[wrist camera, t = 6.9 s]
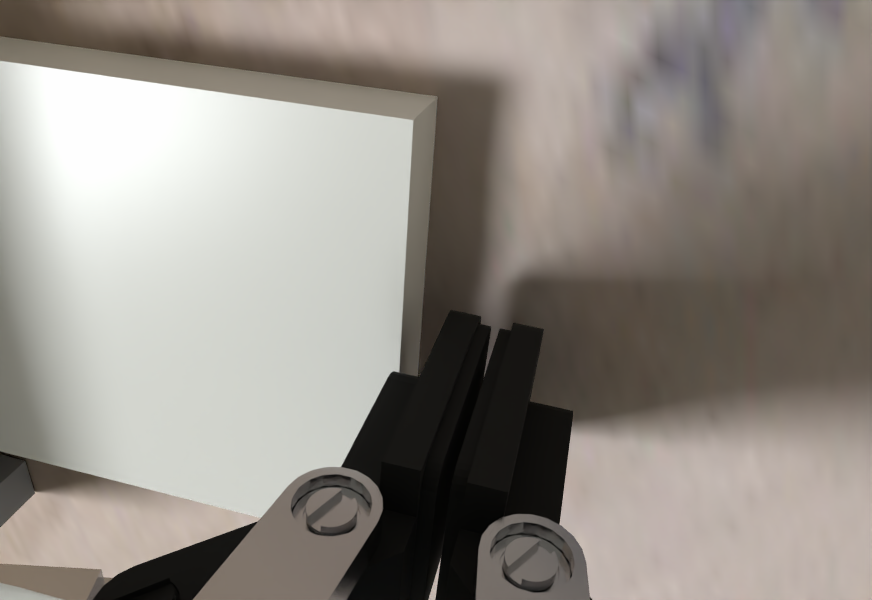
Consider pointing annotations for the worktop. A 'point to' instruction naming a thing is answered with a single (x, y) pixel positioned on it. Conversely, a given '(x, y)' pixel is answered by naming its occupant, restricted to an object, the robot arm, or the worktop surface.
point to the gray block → (13, 486)
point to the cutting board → (203, 267)
